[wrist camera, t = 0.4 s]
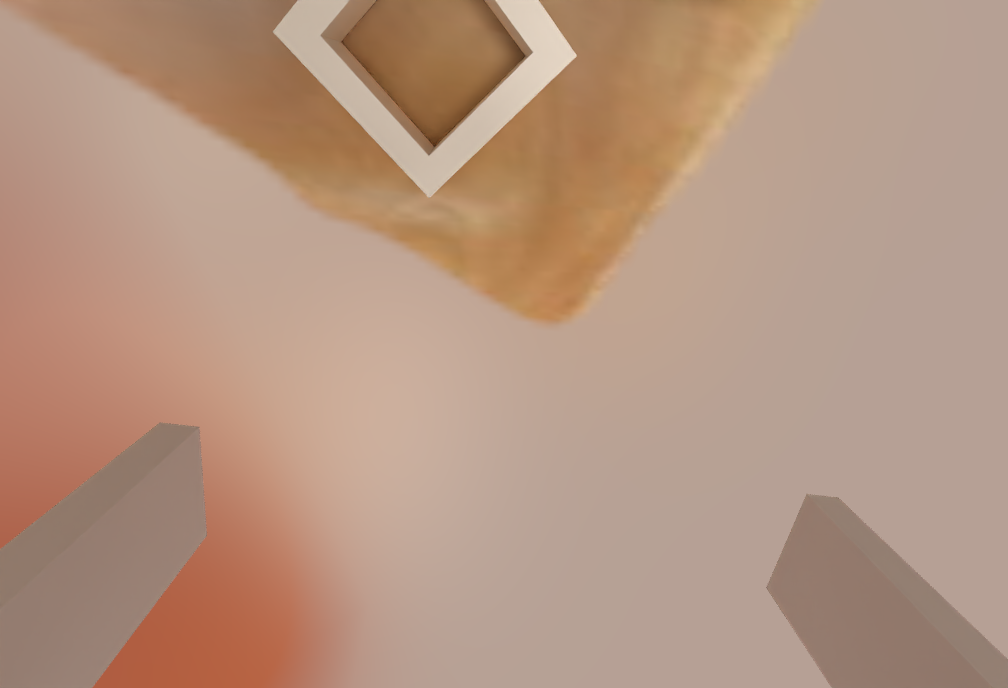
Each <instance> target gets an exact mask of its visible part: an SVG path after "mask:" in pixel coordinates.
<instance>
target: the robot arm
mask: <svg viewBox="0 0 1008 688" xmlns="http://www.w3.org/2000/svg"><path fill="white" fill-rule="evenodd" d="M206 536H207V532H206V518H205V502H204V488H203V473H202V459H201V445H200V430H199V427H194V426H186V425H177V424H168V423H159V424H157V425H156V426H155V427H154V428H152V429H151V430H150V431H149V432H147V433H146V434H145V435H144V436H142V437H141V438H140V439H139V440H137V441H136V442H135V443H134V444H132V445H131V446H130V447H128V448H127V449H126V450H125V451H123V452H122V453H121V454H120V455H118V456H117V457H116V458H115V459H113V460H112V461H111V462H110V463H108V464H107V465H106V466H105V467H103V468H102V469H101V470H99V471H98V472H97V473H96V474H95V475H93V476H92V477H91V478H89V479H88V480H87V481H86V482H84V483H83V484H82V485H81V486H79V487H78V488H77V489H76V490H74V491H73V492H72V493H70V494H69V495H68V496H67V497H65V498H64V499H63V500H62V501H60V502H59V503H58V504H57V505H55V506H54V507H53V508H52V509H50V510H49V511H48V512H46V513H45V514H44V515H43V516H41V517H40V518H39V519H38V520H37V521H35V522H34V523H33V524H31V525H30V526H29V527H28V528H26V529H25V530H24V531H23V532H21V533H20V534H19V535H17V536H16V537H15V538H14V539H13V540H11V541H10V542H9V543H7V544H6V545H5V546H4V547H3V548H1V549H0V688H92V687H93V686H94V684H95V683H96V681H98V679H99V678H100V677H101V675H102V674H103V673H104V671H105V670H106V669H107V667H108V666H109V665H110V663H111V662H112V661H113V659H114V658H115V657H116V655H117V654H118V653H119V651H120V650H121V649H122V647H123V646H124V645H125V643H126V642H127V641H128V639H129V638H130V637H131V635H132V634H133V633H134V631H135V630H136V629H137V627H138V626H139V625H140V623H141V622H142V621H143V619H144V618H145V617H146V615H147V614H148V613H149V612H150V610H151V609H152V608H153V606H154V605H155V603H156V602H157V601H158V600H159V598H160V597H161V596H162V594H163V593H164V592H165V590H166V589H167V588H168V586H169V585H170V584H171V582H172V581H173V580H174V578H175V577H176V576H177V574H178V573H179V572H180V570H181V569H182V568H183V566H184V565H185V564H186V562H187V561H188V560H189V558H190V557H191V556H192V554H193V553H194V552H195V550H196V549H197V548H198V546H199V545H200V544H201V542H202V541H203V540H204V538H205V537H206ZM767 590H768V591H769V593H770V594H771V596H772V597H773V599H774V600H775V602H776V603H777V605H778V606H779V608H780V610H781V611H782V613H783V614H784V616H785V617H786V619H787V620H788V622H789V623H790V625H791V626H792V628H793V629H794V630H795V632H796V634H797V635H798V637H799V638H800V640H801V641H802V643H803V645H804V646H805V648H806V649H807V651H808V652H809V654H810V655H811V657H812V658H813V660H814V661H815V663H816V664H817V666H818V667H819V669H820V670H821V672H822V674H823V675H824V676H825V678H826V680H827V681H828V683H829V684H830V686H831V687H832V688H1008V659H1007V658H1006V657H1005V656H1004V655H1003V654H1002V653H1001V652H1000V651H999V650H997V648H995V647H994V646H993V645H992V644H991V643H990V642H989V641H988V640H987V639H986V638H985V637H984V636H983V635H982V634H981V633H980V632H979V631H978V630H977V629H975V628H974V627H973V626H972V625H971V624H970V623H969V622H968V621H967V620H966V619H965V618H964V617H963V616H962V615H961V614H960V613H959V612H958V611H957V610H955V608H953V607H952V606H951V605H950V604H949V603H948V602H947V601H946V600H945V599H944V598H943V597H942V596H941V595H940V594H939V593H938V592H937V591H936V590H935V589H934V588H932V586H930V585H929V584H928V583H927V582H926V581H925V580H924V579H923V578H922V577H921V576H920V575H919V574H918V573H917V572H915V570H914V569H913V568H912V567H910V565H908V564H907V563H906V562H905V561H904V560H903V559H902V558H901V557H900V556H899V555H898V554H897V553H896V552H895V551H893V549H892V548H891V547H890V546H888V544H886V543H885V542H884V541H883V540H882V539H881V538H880V537H879V536H878V535H877V534H876V533H875V532H874V531H873V530H872V529H871V528H870V527H869V526H867V525H866V524H865V523H864V522H863V521H862V520H861V519H860V518H859V517H858V516H857V515H856V514H855V513H854V512H853V511H852V510H851V509H850V508H849V507H848V506H847V505H846V504H845V503H843V502H842V501H841V500H840V499H839V498H837V497H826V496H818V495H809V494H807V495H806V497H805V499H804V501H803V504H802V506H801V508H800V511H799V513H798V515H797V518H796V520H795V522H794V525H793V527H792V529H791V532H790V534H789V536H788V539H787V541H786V543H785V546H784V548H783V551H782V553H781V555H780V557H779V560H778V562H777V564H776V567H775V569H774V571H773V574H772V576H771V578H770V581H769V583H768V585H767Z"/></svg>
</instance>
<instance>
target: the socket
mask: <svg viewBox="0 0 1008 688" xmlns="http://www.w3.org/2000/svg"><path fill="white" fill-rule="evenodd" d="M375 1H376V0H298V1H297V2H296V3H295V4H294V6H293V7H292V8H291V9H290V11H289V12H288V13H287V14H286V16H285V17H284V18H283V19H282V21H281V22H280V23H279V24H278V26H277V27H276V28H275V29H274V31H273V33H274V34H275V35H276V36H277V37H278V38H279V39H280V40H281V41H282V42H283V43H284V44H285V45H286V47H287V48H288V49H289V50H290V51H291V52H292V53H293V54H294V55H295V56H296V57H297V58H298V59H299V60H300V61H301V62H302V64H303V65H304V66H305V67H306V68H307V69H308V70H309V71H310V72H311V73H312V74H313V75H314V76H315V77H316V78H317V79H318V81H319V82H320V83H321V84H322V85H323V86H324V87H325V88H326V89H327V90H328V91H329V92H330V93H331V94H332V95H333V96H334V98H335V99H336V100H337V101H338V102H339V103H340V104H341V105H342V106H343V107H344V108H345V109H346V110H347V111H348V112H349V113H350V115H351V116H352V117H353V118H354V119H355V120H356V121H357V122H358V123H359V124H360V125H361V126H362V127H363V128H364V129H365V130H366V132H367V133H368V134H369V135H370V136H371V137H372V138H373V139H374V140H375V141H376V142H377V143H378V144H379V145H380V146H381V147H382V149H383V150H384V151H385V152H386V153H387V154H388V155H389V156H390V157H391V158H392V159H393V160H394V161H395V162H396V163H397V164H398V166H399V167H400V168H401V169H402V170H403V171H404V172H405V173H406V174H407V175H408V176H409V177H410V178H411V179H412V180H413V181H414V183H415V184H416V185H417V186H418V187H419V188H420V189H421V190H422V191H423V192H424V193H425V194H426V195H427V196H428V197H429V198H430V197H431V196H432V195H433V194H434V193H435V192H436V191H437V190H438V189H439V188H440V187H441V186H442V185H443V184H444V183H445V182H446V181H447V180H448V179H450V178H451V177H452V176H453V175H454V174H455V173H456V172H457V171H458V170H459V169H460V168H461V167H462V166H463V165H464V164H465V163H466V162H467V161H468V160H469V159H470V158H471V157H472V156H473V155H474V154H476V153H477V152H478V151H479V150H480V149H481V148H482V147H483V146H484V145H485V144H486V143H487V142H488V141H489V140H490V139H491V138H492V137H493V136H494V135H495V134H496V133H497V132H498V131H499V130H500V129H502V128H503V127H504V126H505V125H506V124H507V123H508V122H509V121H510V120H511V119H512V118H513V117H514V116H515V115H516V114H517V113H518V112H519V111H520V110H521V109H522V108H523V107H524V106H525V105H526V104H527V103H529V102H530V101H531V100H532V99H533V98H534V97H535V96H536V95H537V94H538V93H539V92H540V91H541V90H542V89H543V88H544V87H545V86H546V85H547V84H548V83H549V82H550V81H551V80H552V79H553V78H555V77H556V76H557V75H558V74H559V73H560V72H561V71H562V70H563V69H564V68H565V67H566V66H567V65H568V64H569V63H570V62H571V61H572V60H573V59H574V58H575V57H576V56H577V55H576V54H575V52H574V51H573V49H572V48H571V46H570V45H569V43H568V42H567V41H566V39H565V38H564V36H563V35H562V33H561V32H560V30H559V29H558V28H557V26H556V25H555V23H554V22H553V20H552V19H551V17H550V16H549V14H548V13H547V12H546V10H545V9H544V7H543V6H542V4H541V3H540V1H539V0H484V1H485V2H486V3H487V5H488V6H489V7H490V9H491V10H492V11H493V13H494V14H495V15H496V17H497V18H498V20H499V21H500V22H501V24H502V25H503V26H504V28H505V29H506V30H507V32H508V33H509V34H510V36H511V37H512V39H513V40H514V41H515V43H516V44H517V45H518V47H519V48H520V49H521V51H522V52H523V53H524V55H525V57H524V58H523V59H522V60H521V61H520V62H519V63H518V64H517V65H516V66H515V67H514V68H513V69H512V70H511V71H510V72H509V73H508V74H507V75H506V76H505V77H504V78H503V79H502V80H501V81H500V82H499V83H498V84H497V85H496V86H495V87H494V88H493V89H492V90H491V91H490V92H489V93H488V94H487V95H486V96H485V97H484V98H483V99H482V100H481V101H480V102H479V103H478V104H477V105H476V106H475V107H474V108H473V109H472V110H471V111H470V112H469V113H468V114H467V115H466V116H465V117H464V118H463V119H462V120H461V121H460V122H459V123H458V124H457V125H456V126H455V127H454V128H453V129H452V130H451V131H450V132H449V133H448V134H447V135H446V136H445V137H444V138H443V139H442V140H441V141H440V142H439V143H438V144H437V145H436V146H435V147H434V146H433V145H432V144H431V143H430V141H429V140H428V139H427V138H426V137H425V136H424V135H423V134H422V132H421V131H420V130H419V129H418V128H417V127H416V126H415V125H414V123H413V122H412V121H411V120H410V119H409V118H408V117H407V116H406V114H405V113H404V112H403V111H402V110H401V109H400V108H399V107H398V105H397V104H396V103H395V102H394V101H393V100H392V99H391V98H390V96H389V95H388V94H387V93H386V92H385V91H384V90H383V89H382V87H381V86H380V85H379V84H378V83H377V82H376V81H375V80H374V78H373V77H372V76H371V75H370V74H369V73H368V72H367V71H366V69H365V68H364V67H363V66H362V65H361V64H360V63H359V62H358V60H357V59H356V58H355V57H354V56H353V55H352V54H351V53H350V51H349V50H348V49H347V48H346V47H345V46H344V45H343V44H342V42H341V41H342V40H343V39H344V38H345V36H346V35H347V34H348V33H349V32H350V31H351V29H352V28H353V27H354V26H355V25H356V24H357V22H358V21H359V20H360V19H361V18H362V17H363V15H364V14H365V13H366V12H367V11H368V10H369V8H370V7H371V6H372V5H373V4H374V3H375Z"/></svg>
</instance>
